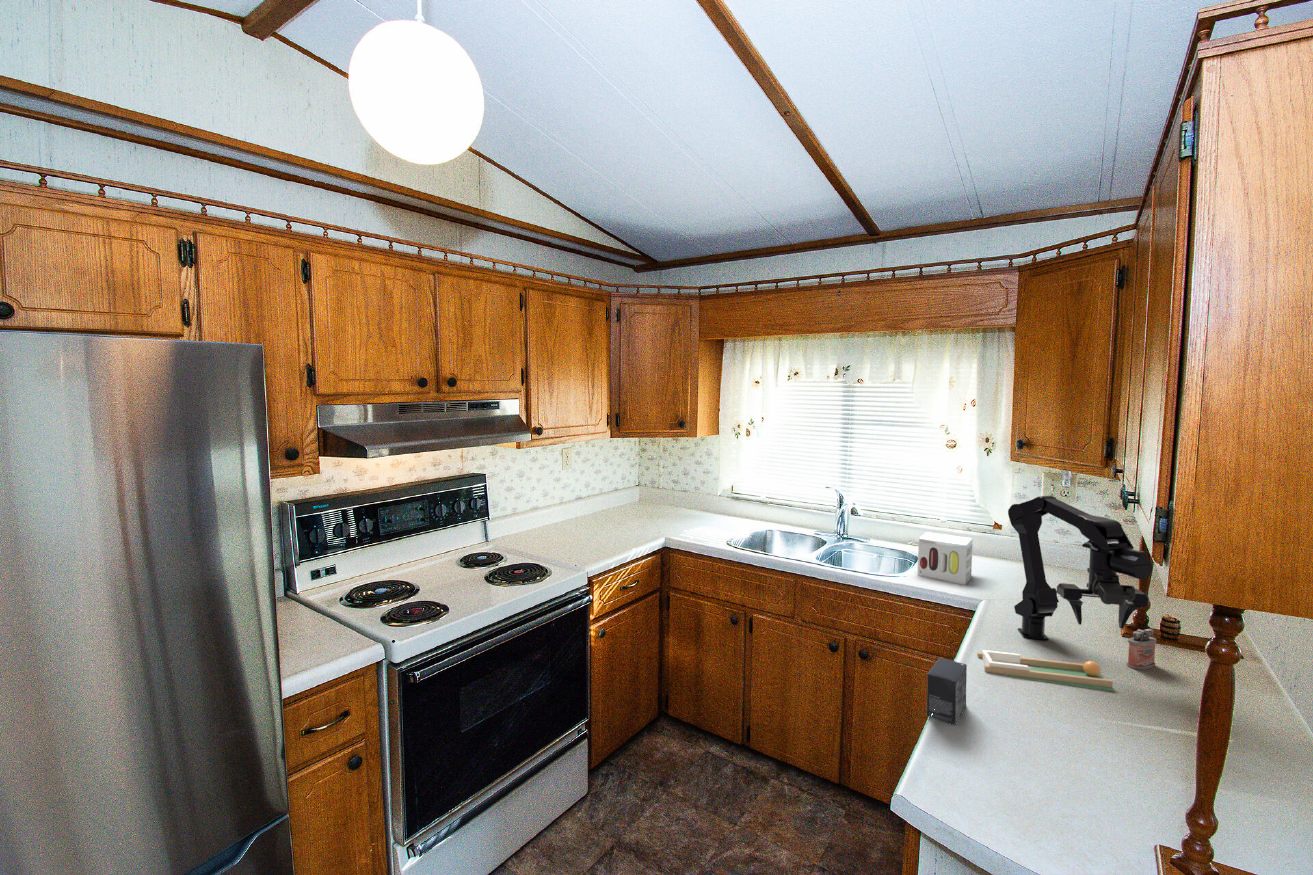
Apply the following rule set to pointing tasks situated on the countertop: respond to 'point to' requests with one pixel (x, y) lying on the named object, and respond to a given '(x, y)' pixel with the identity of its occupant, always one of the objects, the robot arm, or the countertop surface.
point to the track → (1054, 673)
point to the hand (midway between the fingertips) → (1100, 626)
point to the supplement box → (945, 557)
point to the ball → (1091, 668)
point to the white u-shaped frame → (1003, 660)
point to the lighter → (1141, 650)
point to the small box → (946, 690)
